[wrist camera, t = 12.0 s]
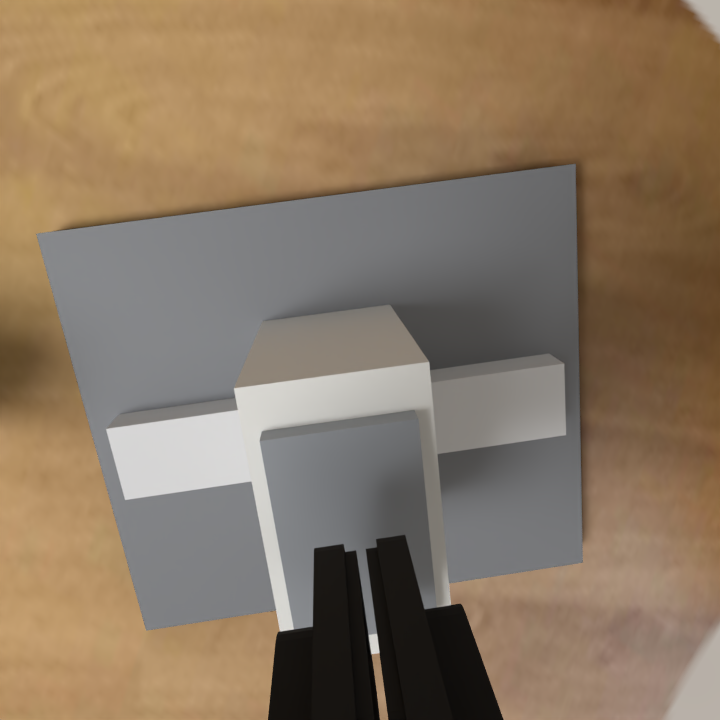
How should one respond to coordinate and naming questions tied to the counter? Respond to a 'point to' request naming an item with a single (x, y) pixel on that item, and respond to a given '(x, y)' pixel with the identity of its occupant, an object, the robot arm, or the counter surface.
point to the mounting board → (316, 296)
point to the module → (341, 451)
